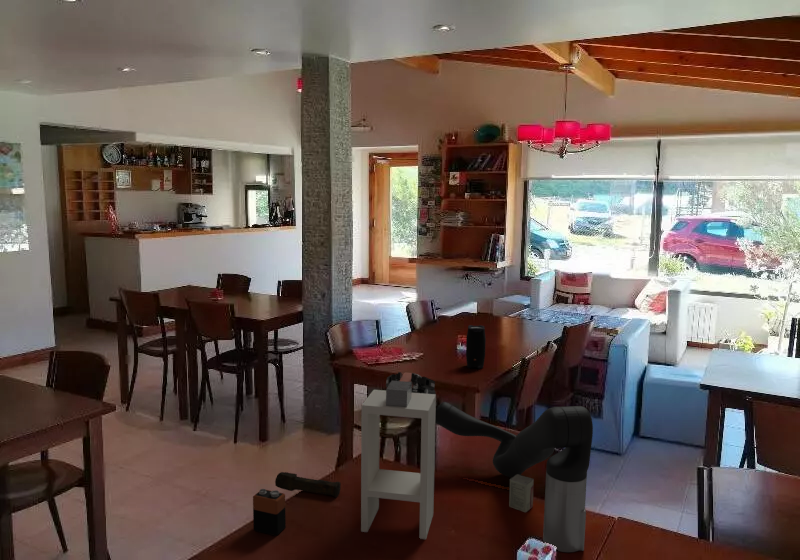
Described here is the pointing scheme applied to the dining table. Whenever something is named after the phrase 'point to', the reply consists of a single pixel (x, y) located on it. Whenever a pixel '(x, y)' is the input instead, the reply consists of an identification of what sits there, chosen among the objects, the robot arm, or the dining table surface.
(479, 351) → the portable speaker
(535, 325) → the dining table surface
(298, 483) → the dark green flashlight
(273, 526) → the battery
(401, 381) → the hammer
